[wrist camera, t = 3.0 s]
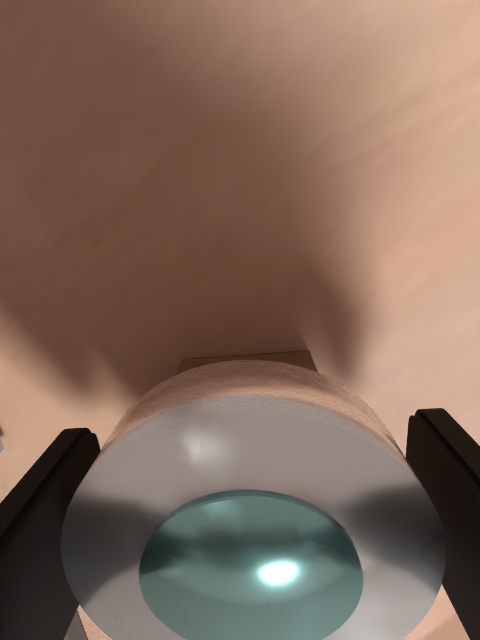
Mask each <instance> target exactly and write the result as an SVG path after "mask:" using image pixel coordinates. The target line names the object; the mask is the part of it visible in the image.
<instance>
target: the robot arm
mask: <svg viewBox="0 0 480 640" xmlns="http://www.w3.org/2000/svg"><path fill="white" fill-rule="evenodd" d="M100 451H101V450H100V446H99V443H98V439H97V436H96V434H95V433H91V431H90V430H89V429H88V428H72V429H65V430H63V431H62V432H61V433H60V434H59V435H58V437H57V438H56V439H55V440H54V441H53V442H52V444H51V445H50V446H49V447H48V448H47V449H46V451H45V452H44V453H43V454H42V455H41V456H40V458H39V459H38V460H37V461H36V462H35V463H34V465H33V466H32V467H31V468H30V469H29V471H28V472H27V473H26V474H25V475H24V476H23V478H22V479H21V480H20V481H19V482H18V483H17V485H16V486H15V487H14V488H13V489H12V490H11V492H10V493H9V494H8V495H7V496H6V497H5V499H4V500H3V501H2V502H1V503H0V640H64V638H65V636H66V633H67V631H68V629H69V626H70V624H71V622H72V619H73V617H74V615H75V613H76V610H77V608H78V606H79V602H78V601H77V599H76V598H75V596H74V594H73V592H72V590H71V587H70V585H69V583H68V581H67V578H66V574H65V571H64V567H63V563H62V554H61V535H62V526H63V522H64V519H65V515H66V512H67V508H68V506H69V504H70V502H71V500H72V498H73V496H74V494H75V492H76V490H77V489H78V487H79V485H80V484H81V482H82V480H83V479H84V477H85V476H86V474H87V472H88V471H89V469H90V467H91V466H92V464H93V463H94V461H95V459H96V458H97V456H98V454H99V453H100ZM406 460H407V461H408V463H409V465H410V466H411V468H412V470H413V471H414V473H415V474H416V476H417V478H418V479H419V481H420V483H421V484H422V486H423V487H424V489H425V491H426V492H427V494H428V496H429V498H430V499H431V501H432V503H433V505H434V507H435V508H436V510H437V512H438V515H439V518H440V521H441V524H442V527H443V530H444V537H445V544H446V564H445V571H444V575H443V579H442V585H443V587H444V589H445V591H446V593H447V595H448V597H449V599H450V601H451V603H452V605H453V607H454V609H455V611H456V613H457V615H458V617H459V619H460V621H461V622H462V624H463V627H464V628H465V630H466V632H467V634H468V636H469V638H470V640H480V446H479V445H478V444H477V443H476V442H475V441H474V440H473V438H472V437H471V436H470V435H469V434H468V433H467V432H466V431H465V430H464V429H463V428H462V427H461V426H460V425H459V424H458V423H457V422H456V421H455V420H454V419H453V418H452V417H451V416H450V415H449V413H448V412H447V411H445V410H444V409H442V408H434V409H419V410H417V411H416V413H415V415H414V416H410V418H409V423H408V435H407V447H406Z"/></svg>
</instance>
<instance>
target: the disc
mask: <svg viewBox="0 0 480 640" xmlns="http://www.w3.org/2000/svg"><path fill="white" fill-rule="evenodd" d="M61 554H62V563H63V567H64V571H65V574H66V578H67V581H68V583H69V585H70V587H71V590H72V592H73V594H74V596H75V598H76V599H77V601H78V602H79V604H80V605H81V607H82V608H83V610H84V611H85V613H86V614H87V615H88V616H89V617H90V618H91V619H92V621H93V622H94V623H95V624H96V625H97V626H98V627H99V628H100V629H101V630H102V631H103V632H104V633H106V634H107V635H108V636H109V637H110V638H111V639H113V640H402V639H404V638H405V637H406V636H407V635H408V634H409V633H411V632H412V630H413V629H414V628H415V627H416V626H417V625H418V624H419V622H420V621H421V620H422V619H423V618H424V616H425V615H426V613H427V612H428V610H429V609H430V607H431V606H432V604H433V603H434V600H435V598H436V596H437V594H438V591H439V589H440V587H441V583H442V579H443V575H444V571H445V564H446V544H445V537H444V530H443V527H442V524H441V521H440V518H439V515H438V512H437V510H436V508H435V507H434V505H433V503H432V501H431V499H430V498H429V496H428V494H427V492H426V491H425V489H424V487H423V486H422V484H421V483H420V481H419V479H418V478H417V476H416V474H415V473H414V471H413V470H412V468H411V466H410V465H409V463H408V461H407V460H406V458H405V457H404V455H403V453H402V452H401V450H400V448H399V447H398V445H397V444H396V442H395V440H394V439H393V437H392V435H391V434H390V432H389V431H388V429H387V427H386V426H385V424H384V423H383V422H382V420H381V419H380V418H379V417H378V415H377V414H376V413H375V411H374V410H373V409H372V408H371V407H370V406H369V405H368V404H366V403H365V402H364V401H363V400H362V399H361V398H360V397H359V396H358V395H356V394H355V393H353V392H352V391H350V390H349V389H348V388H346V387H345V386H343V385H342V384H340V383H338V382H336V381H334V380H332V379H330V378H328V377H326V376H325V375H322V374H319V373H317V372H314V371H311V370H309V369H306V368H303V367H299V366H295V365H290V364H286V363H282V362H273V361H264V360H233V361H225V362H217V363H212V364H208V365H204V366H200V367H196V368H192V369H190V370H187V371H185V372H182V373H180V374H177V375H175V376H172V377H171V378H169V379H167V380H165V381H163V382H162V383H160V384H158V385H156V386H155V387H153V388H152V389H151V390H149V391H148V392H147V393H145V394H144V395H143V396H141V397H140V398H139V399H138V400H137V401H136V402H135V403H134V404H133V405H132V406H131V407H130V408H129V409H128V410H127V411H126V413H125V414H124V416H123V417H122V418H121V420H120V421H119V422H118V424H117V425H116V427H115V429H114V430H113V432H112V433H111V435H110V437H109V438H108V440H107V442H106V443H105V445H104V446H103V448H102V450H101V451H100V453H99V454H98V456H97V458H96V459H95V461H94V463H93V464H92V466H91V467H90V469H89V471H88V472H87V474H86V476H85V477H84V479H83V480H82V482H81V484H80V485H79V487H78V489H77V490H76V492H75V494H74V496H73V498H72V500H71V502H70V504H69V506H68V508H67V512H66V515H65V519H64V522H63V526H62V535H61Z"/></svg>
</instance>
